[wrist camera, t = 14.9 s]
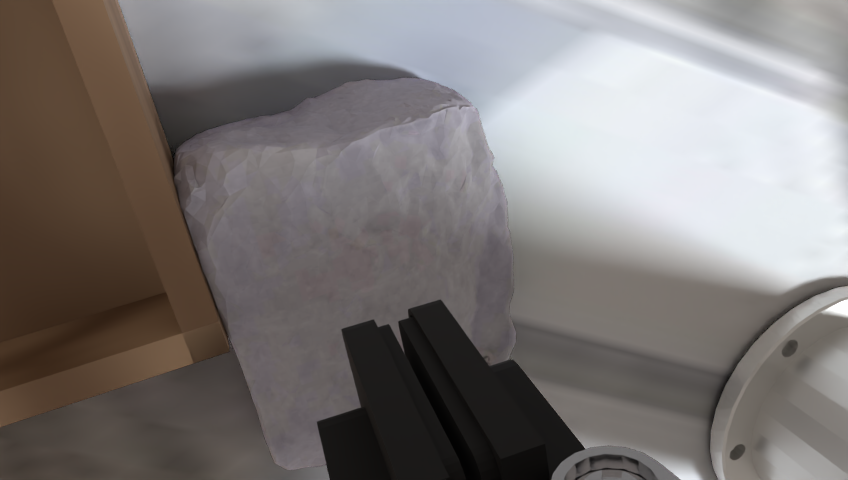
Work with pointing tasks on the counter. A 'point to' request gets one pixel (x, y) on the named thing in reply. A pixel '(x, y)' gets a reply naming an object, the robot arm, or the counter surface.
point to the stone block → (345, 239)
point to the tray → (88, 216)
